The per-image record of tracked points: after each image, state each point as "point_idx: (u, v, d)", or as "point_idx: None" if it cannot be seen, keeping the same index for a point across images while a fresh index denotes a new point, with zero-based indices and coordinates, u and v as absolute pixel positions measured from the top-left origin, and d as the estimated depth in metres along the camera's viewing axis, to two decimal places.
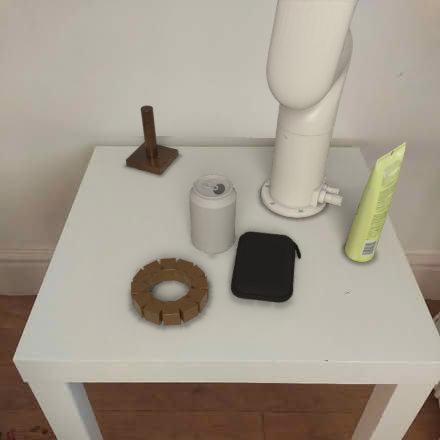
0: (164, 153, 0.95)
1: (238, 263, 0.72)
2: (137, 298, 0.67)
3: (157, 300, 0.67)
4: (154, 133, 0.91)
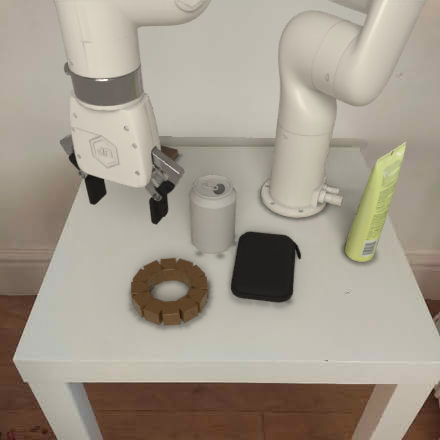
0: (164, 153, 0.95)
1: (238, 263, 0.72)
2: (137, 298, 0.67)
3: (157, 300, 0.67)
4: None
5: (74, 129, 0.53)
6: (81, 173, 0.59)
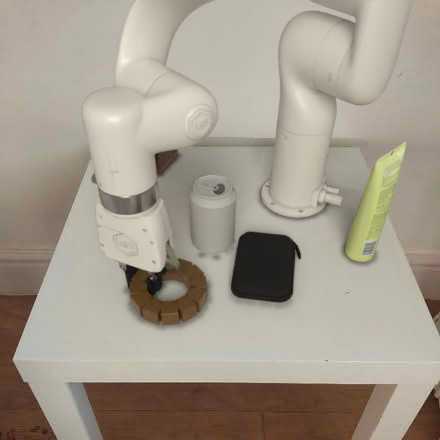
0: (164, 153, 0.95)
1: (238, 263, 0.72)
2: (136, 298, 0.67)
3: (156, 300, 0.67)
4: None
5: (99, 225, 0.62)
6: (122, 266, 0.68)
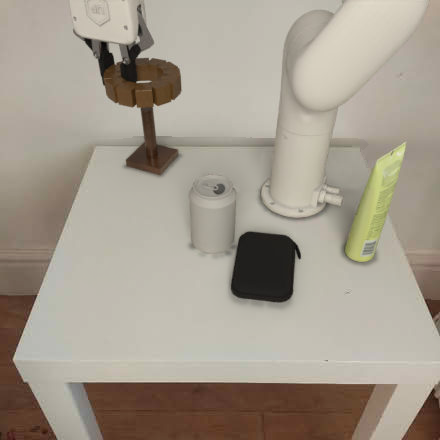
0: (164, 153, 0.95)
1: (238, 263, 0.72)
2: (110, 81, 0.67)
3: (130, 82, 0.67)
4: (154, 133, 0.91)
5: None
6: (95, 54, 0.69)
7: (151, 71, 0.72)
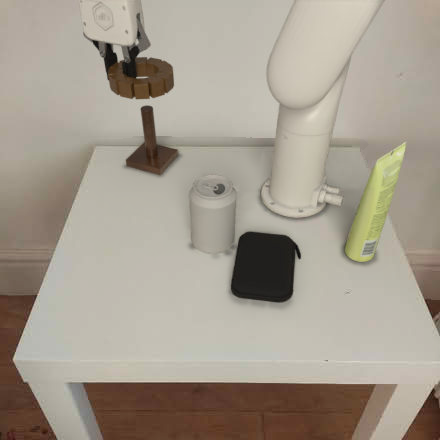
0: (164, 153, 0.95)
1: (238, 263, 0.72)
2: (113, 76, 0.80)
3: (130, 77, 0.80)
4: (154, 133, 0.91)
5: (81, 0, 0.74)
6: (101, 53, 0.81)
7: (149, 68, 0.85)
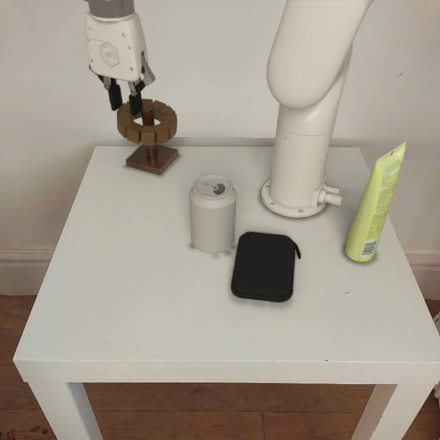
0: (164, 153, 0.95)
1: (238, 263, 0.72)
2: (122, 121, 0.86)
3: (137, 124, 0.86)
4: None
5: (89, 39, 0.79)
6: (106, 86, 0.86)
7: (154, 112, 0.91)
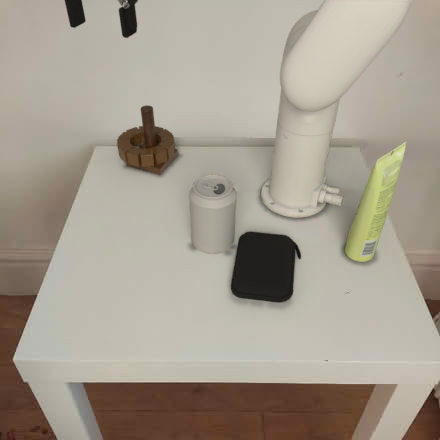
0: None
1: (238, 263, 0.72)
2: (122, 147, 0.92)
3: (136, 148, 0.91)
4: (154, 133, 0.91)
5: None
6: None
7: None
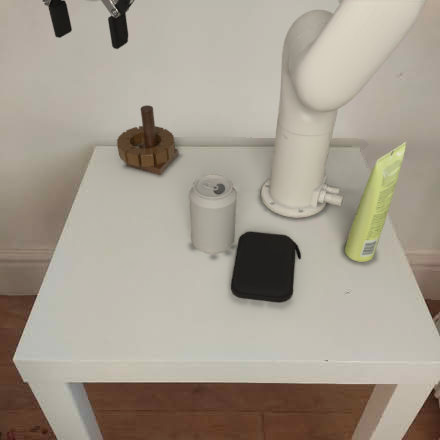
0: None
1: (238, 263, 0.72)
2: (122, 147, 0.92)
3: (136, 148, 0.91)
4: (154, 133, 0.91)
5: None
6: None
7: None
